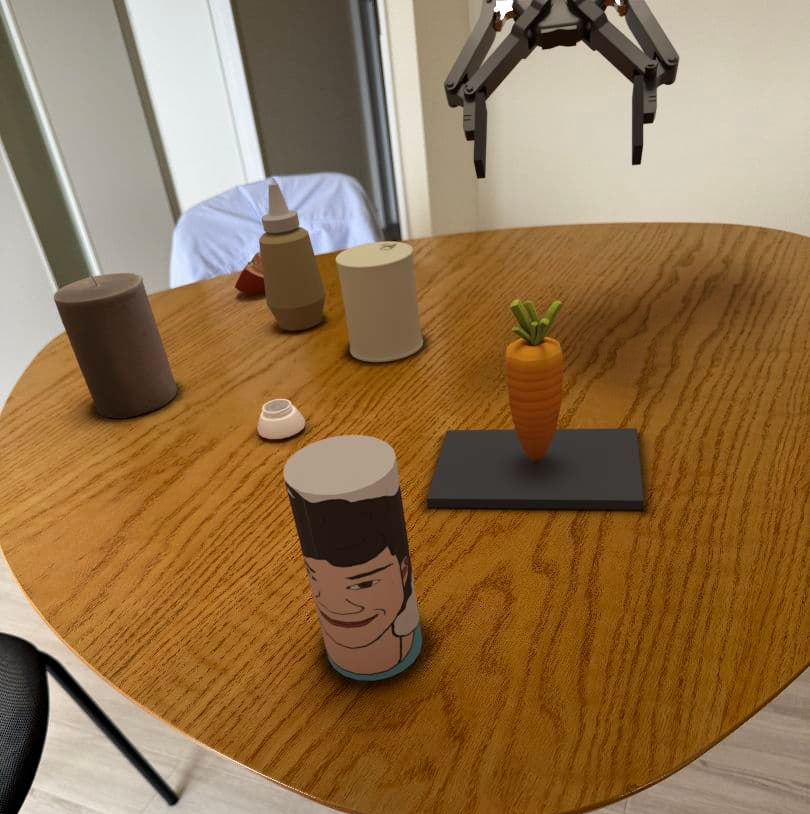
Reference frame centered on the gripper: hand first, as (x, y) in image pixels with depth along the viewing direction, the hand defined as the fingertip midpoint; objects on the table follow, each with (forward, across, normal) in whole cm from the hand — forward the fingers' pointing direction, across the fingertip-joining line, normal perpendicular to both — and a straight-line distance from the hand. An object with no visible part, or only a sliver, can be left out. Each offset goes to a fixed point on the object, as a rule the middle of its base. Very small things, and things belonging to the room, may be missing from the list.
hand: (556, 163), depth 68 cm
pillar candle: (+15, +49, -17) cm, 54 cm away
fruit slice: (-11, +46, -42) cm, 64 cm away
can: (+6, +21, -26) cm, 34 cm away
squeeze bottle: (-1, +35, -33) cm, 48 cm away
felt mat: (+26, +2, -6) cm, 27 cm away
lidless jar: (+21, +28, -11) cm, 37 cm away
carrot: (+26, +2, -5) cm, 26 cm away
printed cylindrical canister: (+43, +12, +10) cm, 46 cm away
